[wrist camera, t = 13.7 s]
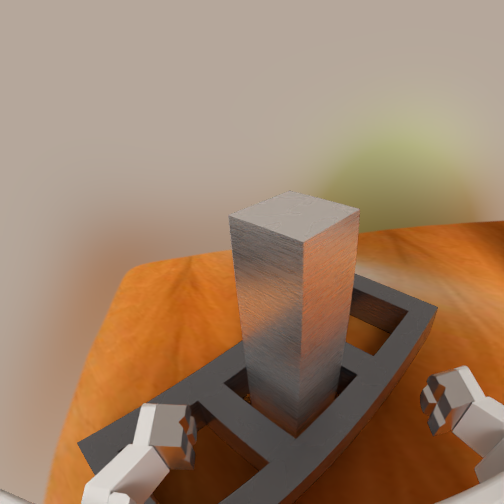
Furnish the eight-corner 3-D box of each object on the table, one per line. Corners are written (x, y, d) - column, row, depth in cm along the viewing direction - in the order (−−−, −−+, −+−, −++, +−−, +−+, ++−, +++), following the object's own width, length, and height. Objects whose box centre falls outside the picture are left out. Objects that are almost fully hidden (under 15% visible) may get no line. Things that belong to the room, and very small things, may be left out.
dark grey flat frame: (338, 293, 31) (341, 268, 30) (429, 333, 25) (437, 307, 23) (97, 463, 16) (77, 442, 14) (189, 580, 9) (173, 578, 8)
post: (290, 376, 23) (289, 190, 16) (333, 403, 20) (359, 209, 13) (251, 408, 20) (228, 214, 14) (295, 441, 18) (303, 242, 11)
